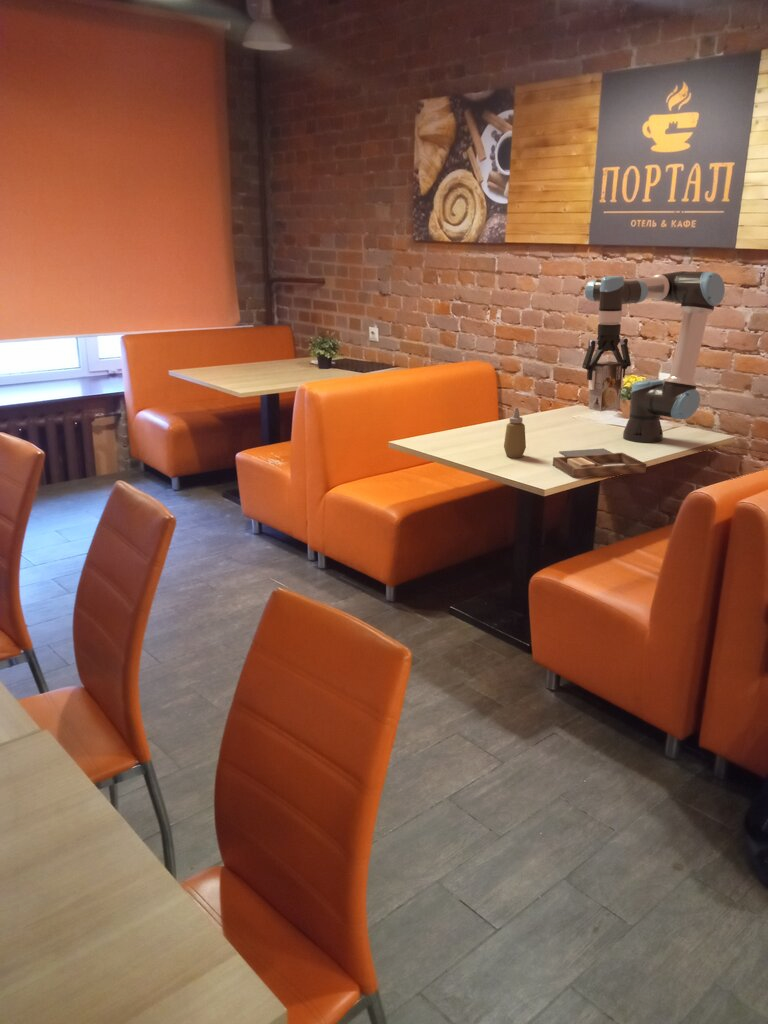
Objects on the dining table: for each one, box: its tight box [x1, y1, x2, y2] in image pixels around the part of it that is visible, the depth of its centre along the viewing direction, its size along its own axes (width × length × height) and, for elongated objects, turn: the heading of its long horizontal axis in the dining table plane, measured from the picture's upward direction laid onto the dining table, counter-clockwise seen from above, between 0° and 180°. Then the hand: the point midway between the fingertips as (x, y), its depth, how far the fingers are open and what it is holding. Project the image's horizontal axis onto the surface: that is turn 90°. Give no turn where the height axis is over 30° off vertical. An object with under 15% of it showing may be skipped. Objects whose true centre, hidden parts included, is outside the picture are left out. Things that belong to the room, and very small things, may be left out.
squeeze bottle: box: [503, 407, 527, 459], centre depth 299 cm, size 8×8×18 cm
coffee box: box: [588, 360, 623, 412], centre depth 287 cm, size 9×6×16 cm
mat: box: [559, 448, 613, 457], centre depth 302 cm, size 18×13×1 cm
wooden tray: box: [552, 452, 647, 479], centre depth 284 cm, size 27×16×3 cm, turn 103°
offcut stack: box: [567, 458, 595, 468], centre depth 282 cm, size 6×10×4 cm, turn 18°
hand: (605, 388), depth 287 cm, fingers closed on coffee box, 10 cm apart
